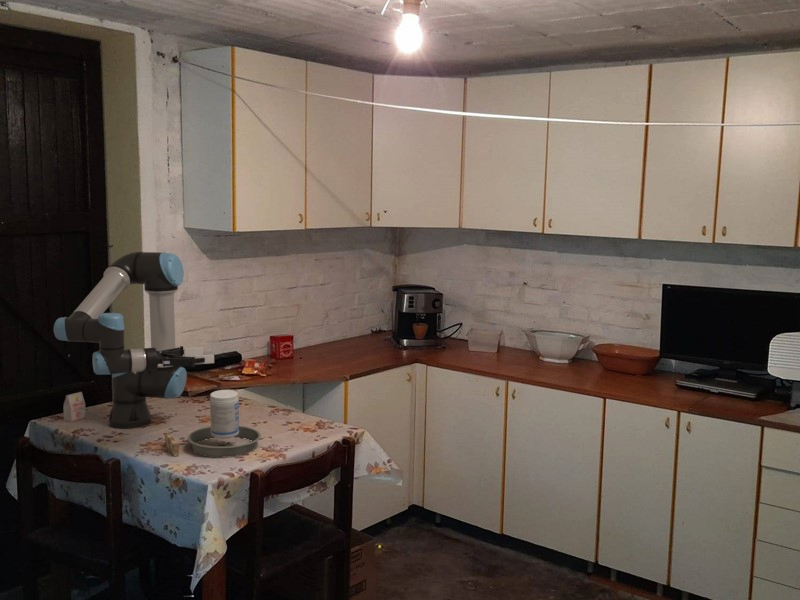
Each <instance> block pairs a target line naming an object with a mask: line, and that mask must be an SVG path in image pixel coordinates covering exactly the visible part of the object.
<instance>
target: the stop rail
mask: <svg viewBox="0 0 800 600" xmlns="http://www.w3.org/2000/svg"><path fill="white" fill-rule="evenodd" d="M165 444H166V445H167V446H166V445H165ZM164 445H165V446H166V448H167V447H168V448H169V449H170V450H169V449H168V448H167V449H168V450H169V452H170V451H171V452H172V453H173V454H172V453H171V452H170V453H171V454H172V456H173V455H174V456H175V455H176V457H178V456H177V455H179V456H180V444H179V442H177V441H176V439H175V438H174V437H173V435H172V434H171V433H170V432H165V433H164ZM174 456H173V457H174Z"/></svg>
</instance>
